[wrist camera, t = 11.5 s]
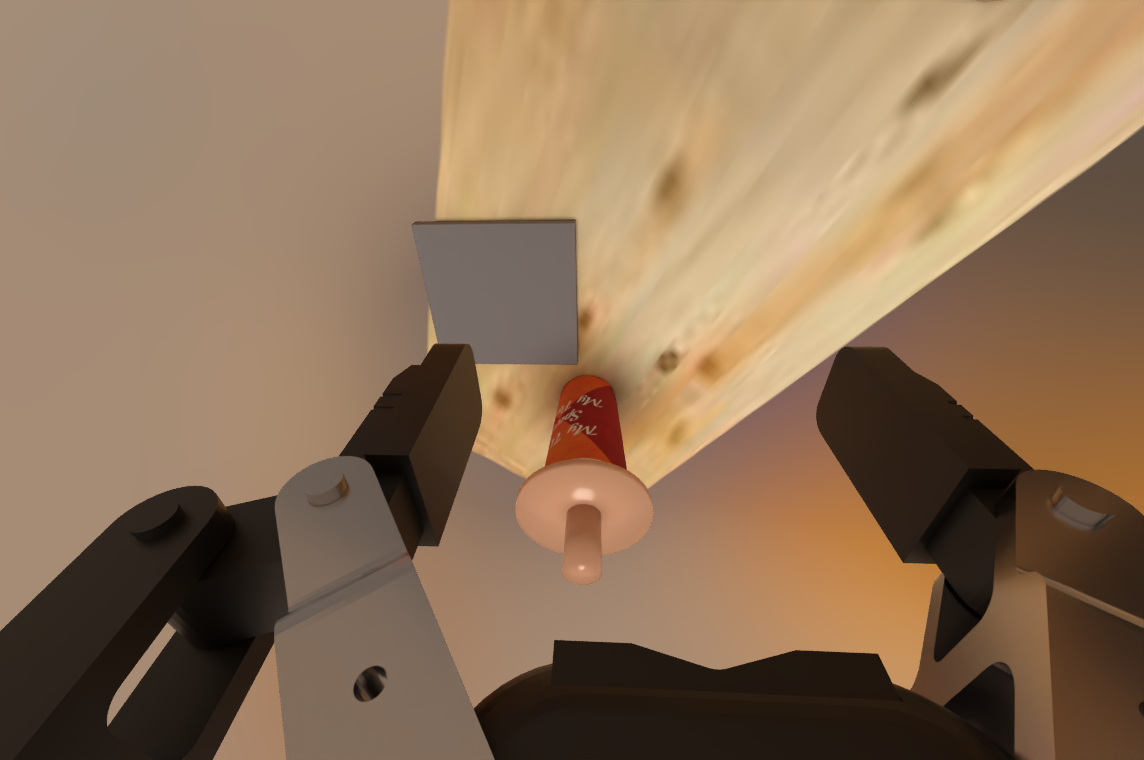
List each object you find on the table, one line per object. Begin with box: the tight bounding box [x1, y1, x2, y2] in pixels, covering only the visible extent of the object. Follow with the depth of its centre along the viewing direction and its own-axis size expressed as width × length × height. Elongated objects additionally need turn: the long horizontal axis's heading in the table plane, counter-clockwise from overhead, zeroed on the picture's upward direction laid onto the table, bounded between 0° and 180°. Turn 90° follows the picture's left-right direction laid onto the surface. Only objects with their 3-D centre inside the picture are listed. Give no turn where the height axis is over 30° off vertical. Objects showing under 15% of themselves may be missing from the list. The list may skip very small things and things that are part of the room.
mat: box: [412, 220, 578, 365], centre depth 41 cm, size 14×14×1 cm
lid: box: [516, 459, 653, 585], centre depth 33 cm, size 11×11×6 cm
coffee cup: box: [545, 376, 627, 470], centre depth 42 cm, size 8×8×15 cm
